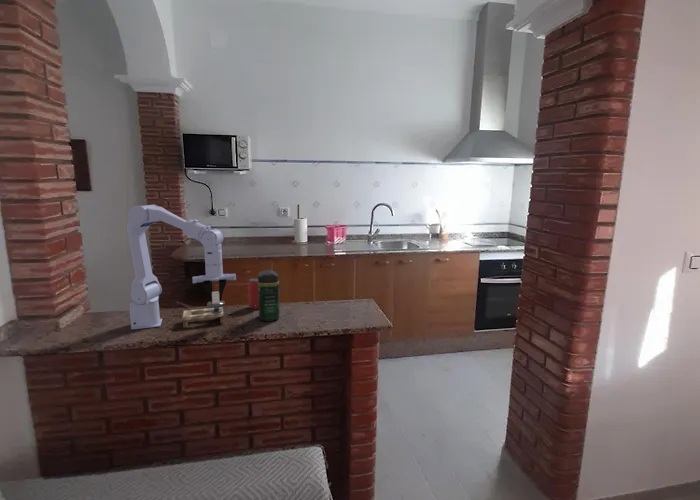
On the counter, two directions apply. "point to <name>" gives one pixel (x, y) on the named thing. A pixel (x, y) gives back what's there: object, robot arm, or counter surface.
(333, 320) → the counter surface
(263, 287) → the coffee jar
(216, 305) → the hanger peg
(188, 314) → the keyhole bridge
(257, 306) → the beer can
